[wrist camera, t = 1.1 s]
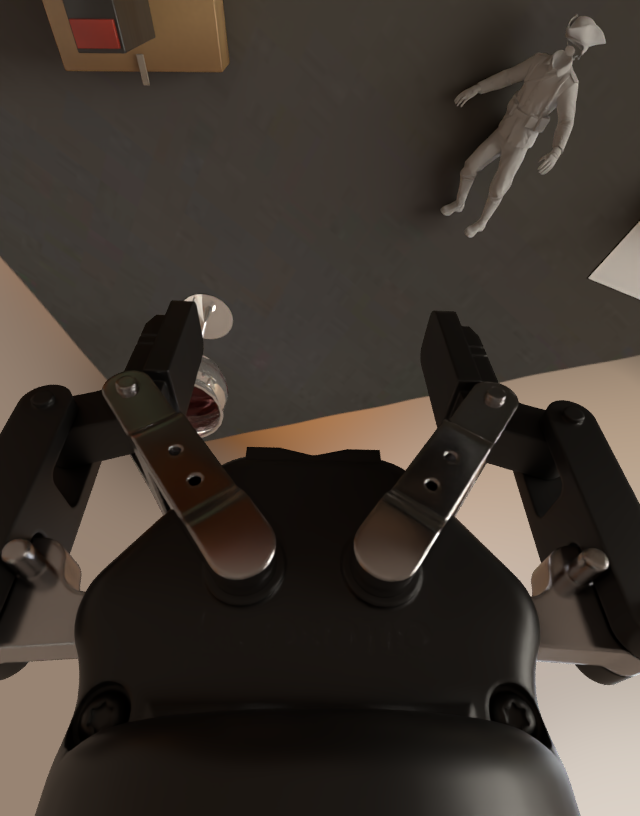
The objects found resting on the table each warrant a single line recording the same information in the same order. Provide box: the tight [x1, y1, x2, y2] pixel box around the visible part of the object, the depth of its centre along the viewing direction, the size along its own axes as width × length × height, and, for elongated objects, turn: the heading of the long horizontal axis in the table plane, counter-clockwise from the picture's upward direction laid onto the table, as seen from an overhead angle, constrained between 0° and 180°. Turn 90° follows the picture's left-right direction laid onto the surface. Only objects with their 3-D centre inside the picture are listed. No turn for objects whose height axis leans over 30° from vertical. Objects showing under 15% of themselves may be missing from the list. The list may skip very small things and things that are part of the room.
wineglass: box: [184, 294, 233, 437], centre depth 36 cm, size 7×7×12 cm
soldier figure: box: [440, 14, 606, 237], centre depth 28 cm, size 8×5×12 cm
